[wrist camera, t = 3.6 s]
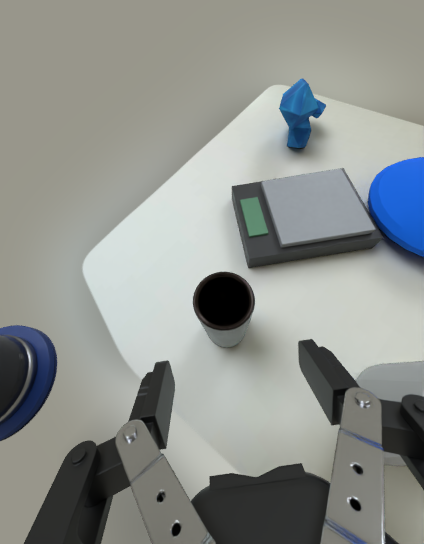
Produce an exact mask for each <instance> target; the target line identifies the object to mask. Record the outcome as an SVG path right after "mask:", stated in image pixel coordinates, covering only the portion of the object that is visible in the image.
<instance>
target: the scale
mask: <svg viewBox="0 0 424 544" xmlns="http://www.w3.org/2000/svg"><path fill="white" fill-rule="evenodd" d="M232 201H233V206H234V210H235V214H236V218H237V223H238V227H239V231H240V235H241V240H242V244H243V248H244V252H245V257H246V261H247V265H248V268H250V267H256V266H262V265H268V264H275V263H281V262H287V261H293V260H300V259H306V258H312V257H319V256H325V255H331V254H337V253H344V252H350V251H356V250H363V249H369V248H372V247H373V246H375V245H376V244H377V243H378V242H379V241H380V240H381V239H382V238H383V236H382V234H381V233H380V231H379V229H378V228H377V226H376V224H375V222H374V221H373V219H372V217H371V215H370V214H369V212H368V210H367V208H366V207H365V205H364V203H363V201H362V200H361V198H360V196H359V195H358V193H357V191H356V189H355V188H354V186H353V184H352V182H351V181H350V179H349V177H348V175H347V174H346V172H345V170H344V168H340V169H334V170H327V171H321V172H315V173H309V174H303V175H297V176H291V177H285V178H279V179H273V180H267V181H261V182H255V183H249V184H243V185H237V186H232Z"/></svg>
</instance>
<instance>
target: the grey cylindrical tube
mask: <svg viewBox="0 0 424 544" xmlns="http://www.w3.org/2000/svg"><path fill="white" fill-rule="evenodd" d="M254 306H255V297H254V293H253V290H252V288H251V286H250V285H249V284H248V282H247V281H246V280H245V279H243V278H242V277H241V276H239V275H237V274H234V273H230V272H217V273H214V274H211V275H209V276H207V277H206V278H204V279H203V280H202V281H201V282H200V283H199V285H198V286H197V288H196V290H195V292H194V296H193V307H194V311H195V313H196V315H197V317H198V319H199V321H200V322H201V324H202V326H203V327H204V329H205V331H206V333H207V334H208V336H209V338H210V339H211V340H212V341H213V342H214V343H215V344H217V345H219V346H221V347H232V346H235V345H237V344H238V343H239V342H240V341H241V340H242V339H243V338H244V336H245V333H246V330H247V328H248V325H249V322H250V319H251V316H252V313H253V310H254Z"/></svg>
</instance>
